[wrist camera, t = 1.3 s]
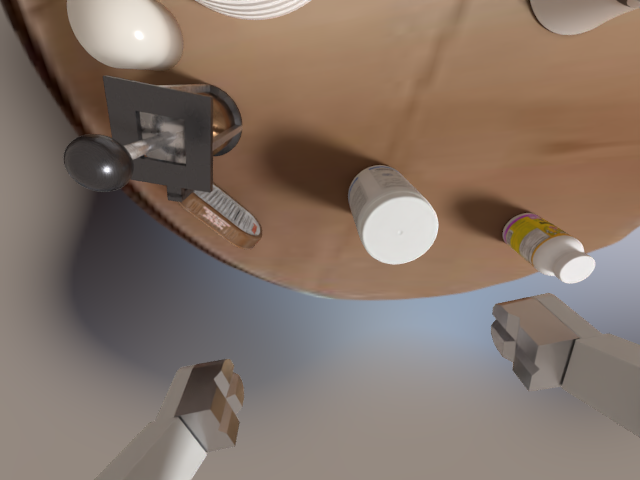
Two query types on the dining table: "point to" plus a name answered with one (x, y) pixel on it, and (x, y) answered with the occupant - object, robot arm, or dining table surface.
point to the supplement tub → (391, 215)
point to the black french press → (200, 129)
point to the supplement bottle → (548, 248)
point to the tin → (224, 217)
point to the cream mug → (127, 33)
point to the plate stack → (253, 8)
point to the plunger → (123, 153)
